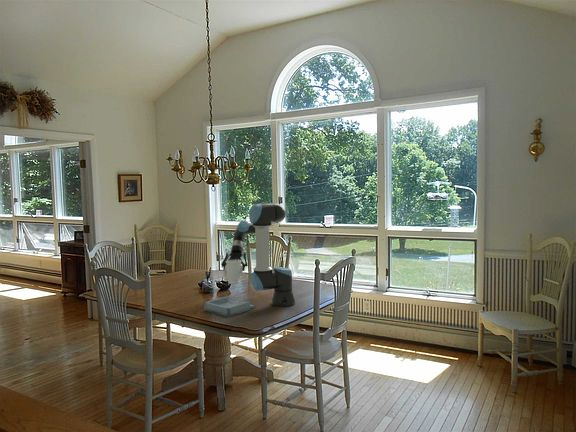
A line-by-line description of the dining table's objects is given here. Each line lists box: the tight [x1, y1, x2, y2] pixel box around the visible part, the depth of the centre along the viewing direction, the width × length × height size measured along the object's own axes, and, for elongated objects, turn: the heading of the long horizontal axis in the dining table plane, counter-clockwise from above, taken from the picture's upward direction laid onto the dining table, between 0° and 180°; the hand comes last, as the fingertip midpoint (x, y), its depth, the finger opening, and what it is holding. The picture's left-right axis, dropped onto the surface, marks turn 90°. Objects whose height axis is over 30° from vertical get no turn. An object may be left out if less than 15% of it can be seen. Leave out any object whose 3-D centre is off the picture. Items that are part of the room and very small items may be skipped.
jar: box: [226, 259, 242, 285], centre depth 294 cm, size 11×10×15 cm
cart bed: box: [203, 296, 255, 318], centre depth 271 cm, size 22×23×5 cm
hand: (233, 274), depth 292 cm, fingers closed on jar, 10 cm apart
